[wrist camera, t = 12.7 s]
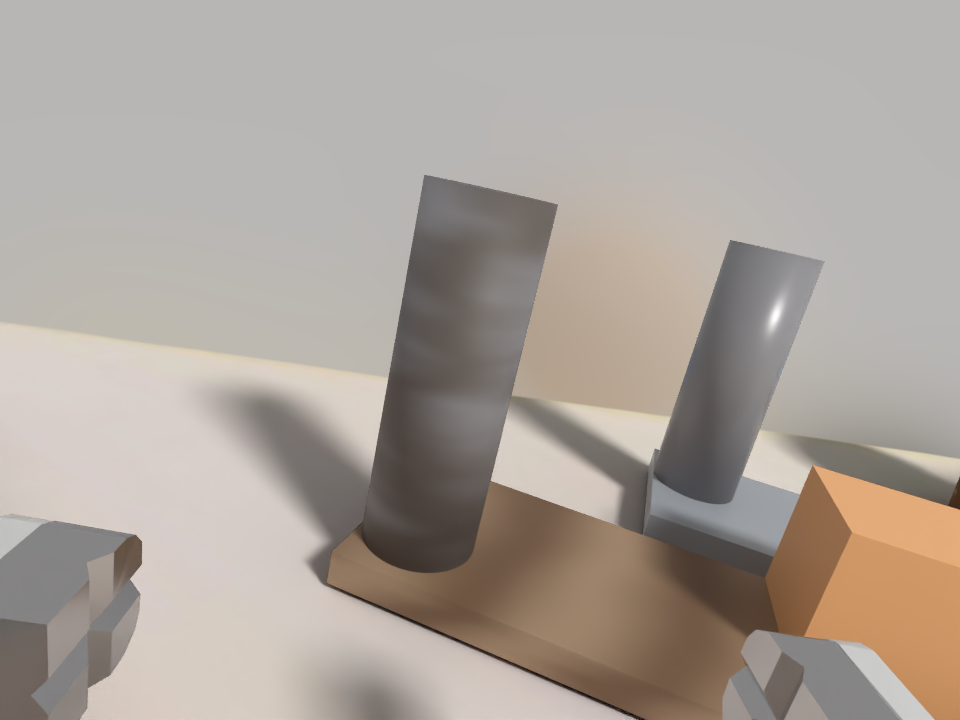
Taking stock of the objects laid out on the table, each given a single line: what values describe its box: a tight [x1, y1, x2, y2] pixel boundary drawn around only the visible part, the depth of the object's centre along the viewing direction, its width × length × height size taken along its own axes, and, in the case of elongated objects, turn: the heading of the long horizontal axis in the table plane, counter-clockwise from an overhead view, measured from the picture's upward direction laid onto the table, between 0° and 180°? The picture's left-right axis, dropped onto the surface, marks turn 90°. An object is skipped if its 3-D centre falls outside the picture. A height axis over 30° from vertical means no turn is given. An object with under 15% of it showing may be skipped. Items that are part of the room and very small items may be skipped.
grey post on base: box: [643, 240, 824, 578], centre depth 25 cm, size 22×8×13 cm, turn 72°
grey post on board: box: [327, 175, 779, 720], centre depth 18 cm, size 22×8×13 cm, turn 72°
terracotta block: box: [765, 465, 960, 720], centre depth 19 cm, size 5×5×5 cm
